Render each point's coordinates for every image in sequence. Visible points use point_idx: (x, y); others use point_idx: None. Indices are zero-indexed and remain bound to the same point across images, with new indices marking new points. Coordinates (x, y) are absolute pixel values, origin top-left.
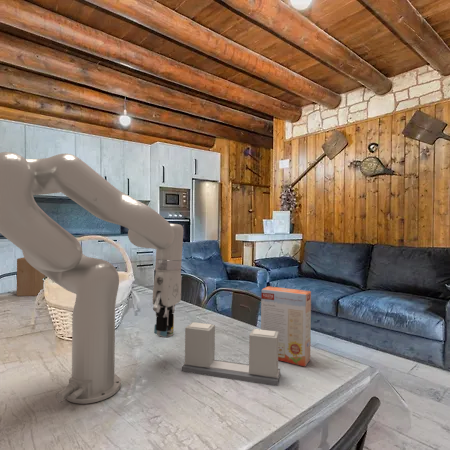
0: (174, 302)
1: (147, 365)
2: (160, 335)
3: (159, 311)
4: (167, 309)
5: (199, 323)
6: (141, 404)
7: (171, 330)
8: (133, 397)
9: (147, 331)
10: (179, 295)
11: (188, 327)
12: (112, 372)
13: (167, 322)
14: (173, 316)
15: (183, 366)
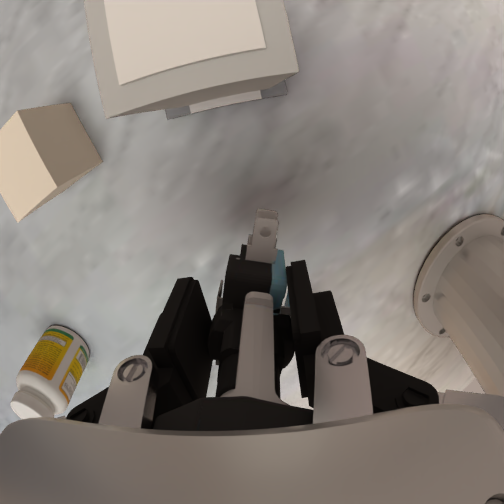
0: (206, 465)
1: (303, 250)
2: (88, 352)
3: (445, 397)
4: (286, 411)
5: (118, 13)
6: (494, 119)
7: (52, 337)
8: (480, 158)
9: (97, 393)
10: (14, 494)
11: (265, 50)
12: (499, 257)
13: (252, 312)
14: (155, 331)
15: (280, 88)
